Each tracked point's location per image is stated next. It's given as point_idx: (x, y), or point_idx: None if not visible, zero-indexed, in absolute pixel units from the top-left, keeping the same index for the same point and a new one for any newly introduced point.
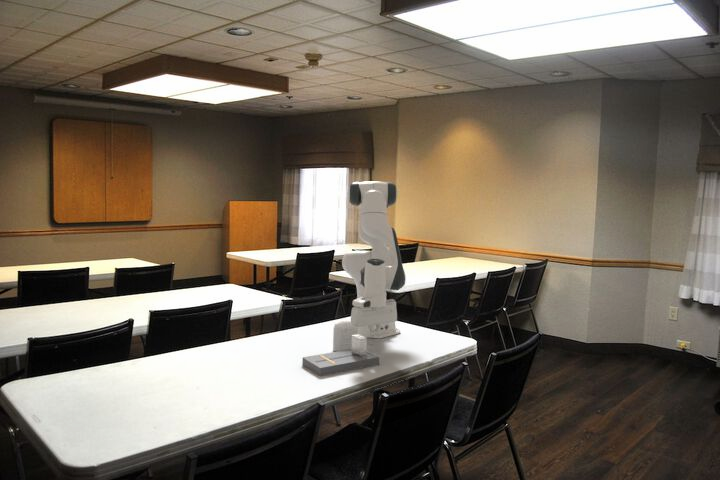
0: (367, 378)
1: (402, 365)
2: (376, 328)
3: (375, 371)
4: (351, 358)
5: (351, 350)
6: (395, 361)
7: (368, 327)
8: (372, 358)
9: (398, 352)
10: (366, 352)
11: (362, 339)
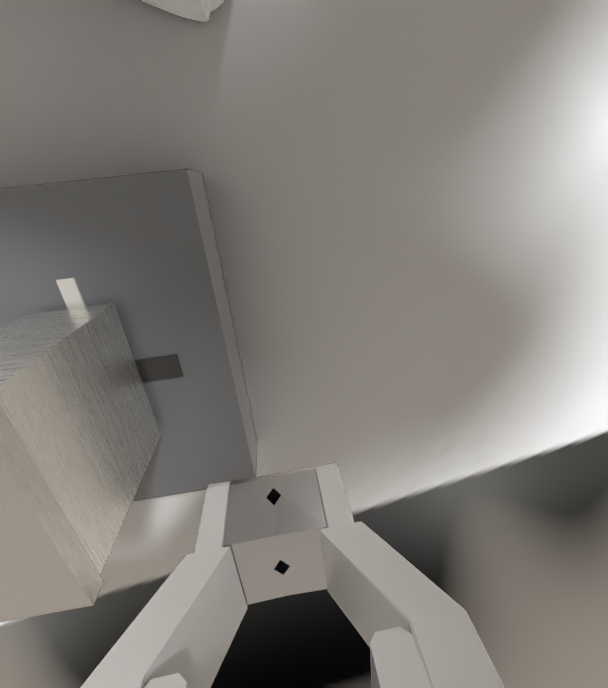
0: (102, 584)
1: (378, 483)
2: (352, 594)
3: (183, 522)
4: None
5: (49, 235)
6: (386, 418)
7: (111, 680)
8: (189, 491)
9: (544, 250)
10: (197, 356)
11: (17, 605)
